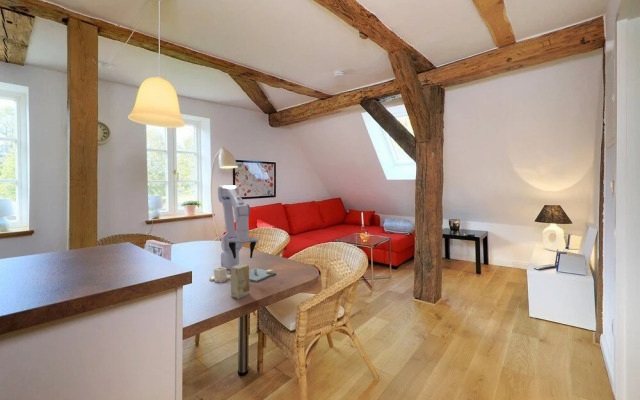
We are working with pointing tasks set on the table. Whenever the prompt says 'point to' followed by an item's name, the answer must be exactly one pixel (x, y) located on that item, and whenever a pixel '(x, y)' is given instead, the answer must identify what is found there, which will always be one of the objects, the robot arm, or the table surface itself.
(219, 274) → the gear
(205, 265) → the table surface
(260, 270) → the carrier plate
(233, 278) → the skincare box
